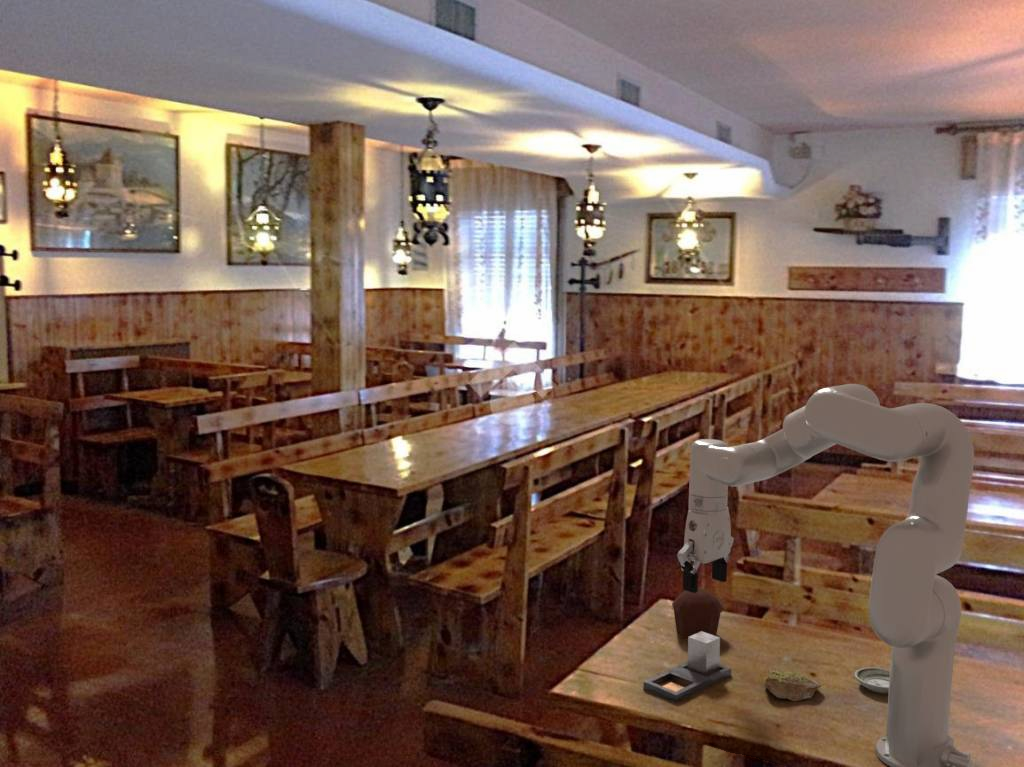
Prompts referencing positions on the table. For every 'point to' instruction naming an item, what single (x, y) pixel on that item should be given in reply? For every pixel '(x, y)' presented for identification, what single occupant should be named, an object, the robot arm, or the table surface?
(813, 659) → the table surface
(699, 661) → the silver rectangular block
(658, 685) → the dark grey slotted tray
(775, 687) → the rock
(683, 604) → the muffin
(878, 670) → the saucer
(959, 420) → the robot arm
